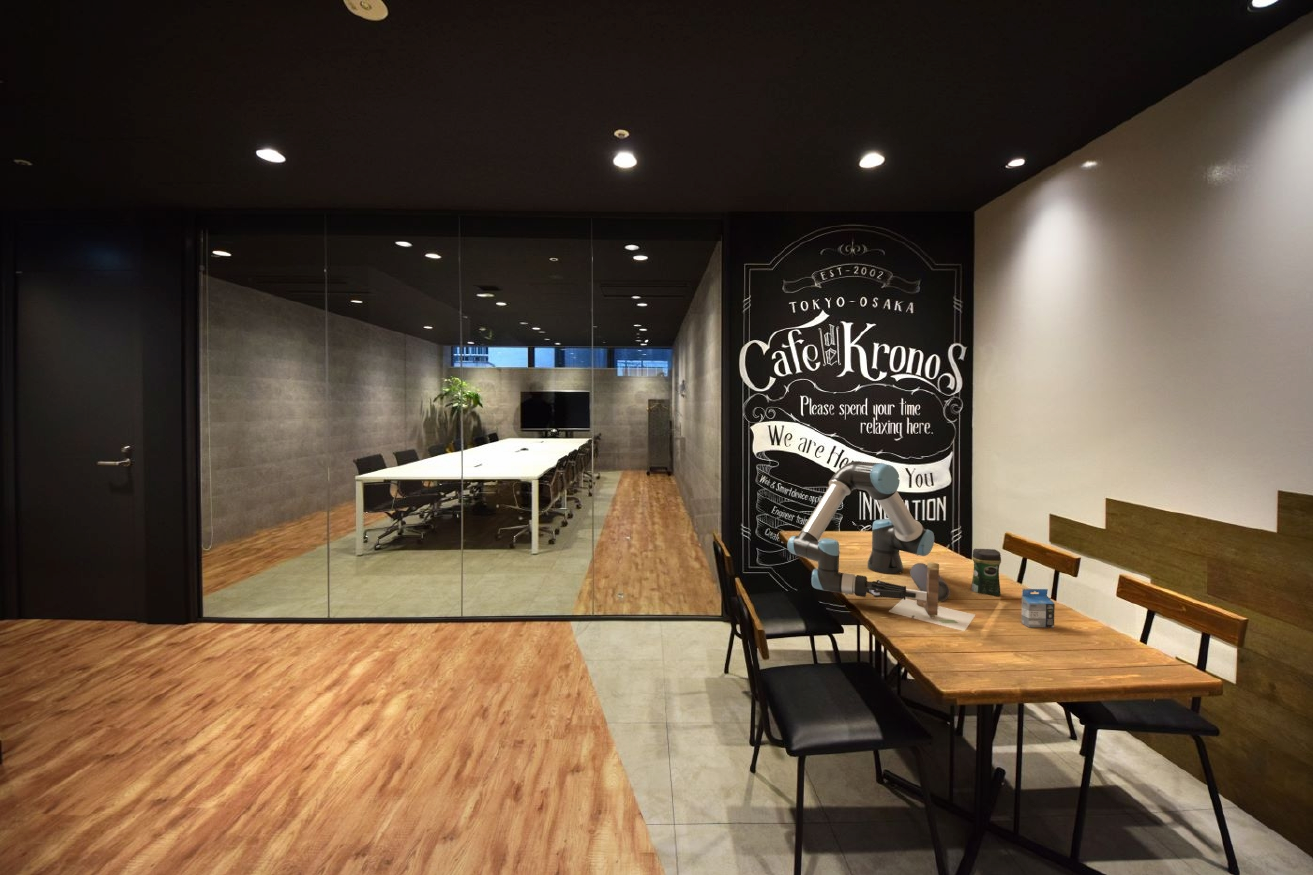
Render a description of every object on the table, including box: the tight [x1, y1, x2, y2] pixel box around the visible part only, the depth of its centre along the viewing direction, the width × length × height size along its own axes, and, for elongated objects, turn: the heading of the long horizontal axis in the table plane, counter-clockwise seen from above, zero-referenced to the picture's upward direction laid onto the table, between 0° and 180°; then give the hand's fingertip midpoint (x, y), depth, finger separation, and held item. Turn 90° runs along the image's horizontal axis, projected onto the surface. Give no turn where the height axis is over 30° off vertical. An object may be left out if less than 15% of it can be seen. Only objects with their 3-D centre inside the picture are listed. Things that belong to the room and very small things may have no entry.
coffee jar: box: [970, 548, 1002, 598], centre depth 206 cm, size 10×8×19 cm
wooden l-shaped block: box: [916, 561, 940, 618], centre depth 185 cm, size 16×5×19 cm, turn 164°
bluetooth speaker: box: [909, 562, 951, 602], centre depth 206 cm, size 23×9×10 cm, turn 168°
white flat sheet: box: [888, 597, 976, 632], centre depth 184 cm, size 24×18×2 cm
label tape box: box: [1020, 588, 1056, 628], centre depth 177 cm, size 9×4×12 cm, turn 89°
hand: (926, 596), depth 180 cm, fingers closed
